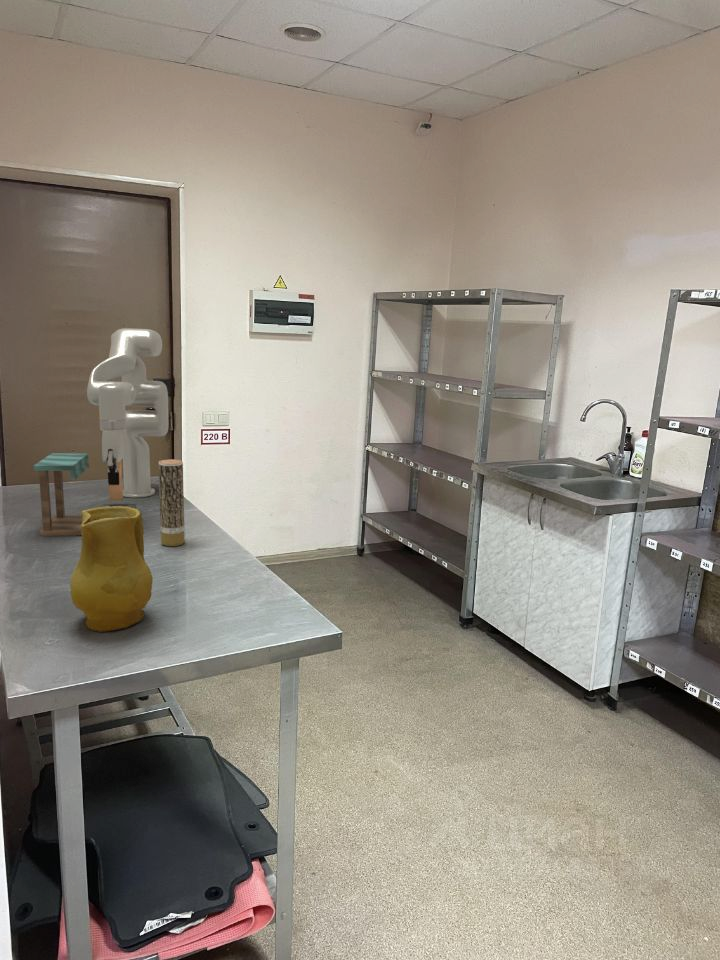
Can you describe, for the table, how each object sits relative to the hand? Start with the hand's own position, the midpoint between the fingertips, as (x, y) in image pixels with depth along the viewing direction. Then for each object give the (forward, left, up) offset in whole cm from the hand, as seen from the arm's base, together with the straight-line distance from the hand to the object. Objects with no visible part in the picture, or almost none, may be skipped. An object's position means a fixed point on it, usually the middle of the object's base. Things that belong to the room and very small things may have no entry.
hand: (115, 482), depth 212 cm
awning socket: (0, -8, -15) cm, 17 cm away
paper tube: (+16, +19, -15) cm, 29 cm away
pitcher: (+68, +13, -15) cm, 71 cm away
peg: (0, 0, -5) cm, 5 cm away
